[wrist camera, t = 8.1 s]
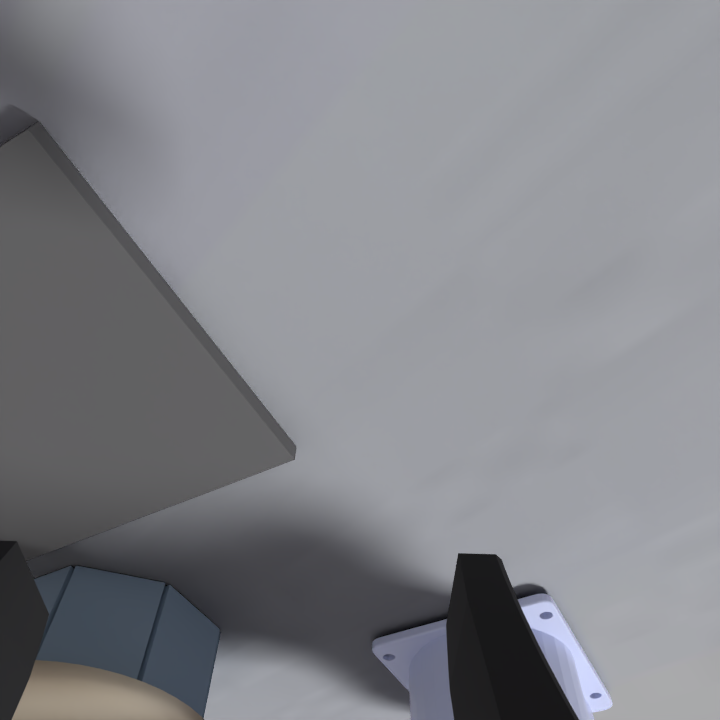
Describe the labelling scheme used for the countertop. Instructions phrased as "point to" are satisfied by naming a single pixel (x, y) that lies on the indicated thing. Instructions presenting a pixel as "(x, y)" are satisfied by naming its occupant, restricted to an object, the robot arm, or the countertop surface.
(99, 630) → the bowl
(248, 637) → the countertop surface
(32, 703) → the lid
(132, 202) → the countertop surface
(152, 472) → the mat
